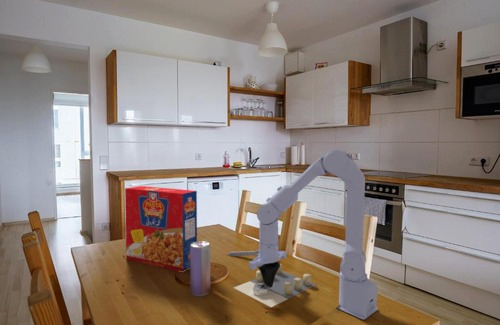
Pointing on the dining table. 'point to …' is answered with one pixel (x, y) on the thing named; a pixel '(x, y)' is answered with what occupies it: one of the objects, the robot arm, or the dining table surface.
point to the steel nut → (261, 289)
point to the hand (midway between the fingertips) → (268, 286)
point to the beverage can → (200, 268)
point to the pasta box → (160, 226)
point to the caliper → (244, 253)
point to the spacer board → (278, 287)
